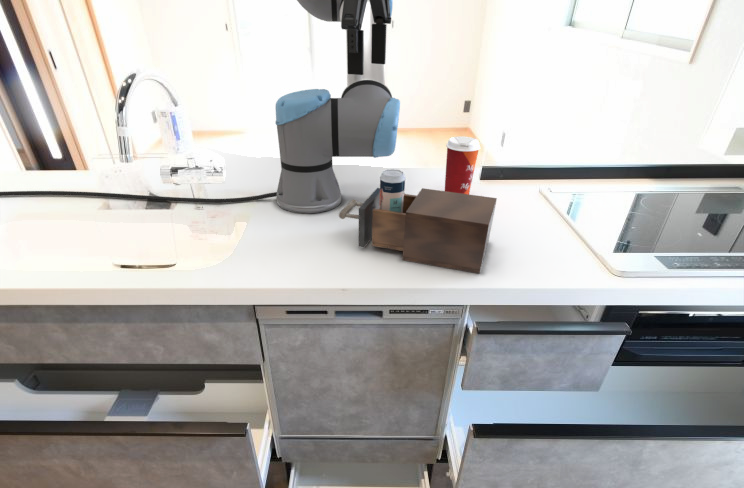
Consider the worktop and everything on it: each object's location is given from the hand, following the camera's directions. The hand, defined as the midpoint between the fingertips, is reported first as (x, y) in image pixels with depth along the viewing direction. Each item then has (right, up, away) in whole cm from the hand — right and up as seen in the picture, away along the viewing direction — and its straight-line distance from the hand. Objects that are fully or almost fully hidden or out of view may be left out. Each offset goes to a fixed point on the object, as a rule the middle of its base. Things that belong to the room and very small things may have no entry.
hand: (367, 68), depth 84 cm
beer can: (+4, -30, +5) cm, 31 cm away
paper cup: (+21, -18, +25) cm, 37 cm away
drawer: (+4, -31, +6) cm, 32 cm away
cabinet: (+16, -34, +4) cm, 37 cm away
